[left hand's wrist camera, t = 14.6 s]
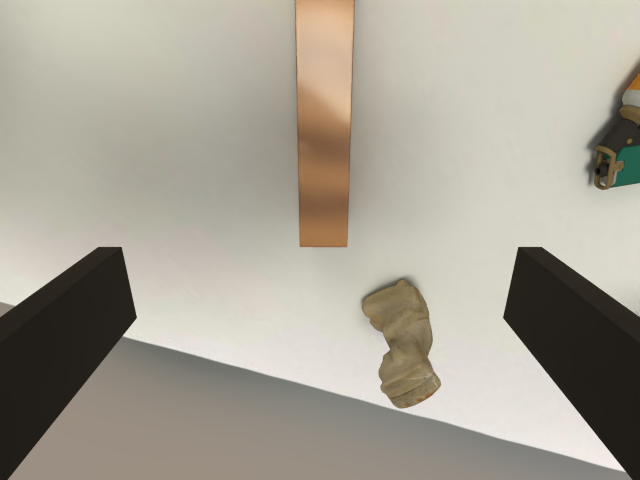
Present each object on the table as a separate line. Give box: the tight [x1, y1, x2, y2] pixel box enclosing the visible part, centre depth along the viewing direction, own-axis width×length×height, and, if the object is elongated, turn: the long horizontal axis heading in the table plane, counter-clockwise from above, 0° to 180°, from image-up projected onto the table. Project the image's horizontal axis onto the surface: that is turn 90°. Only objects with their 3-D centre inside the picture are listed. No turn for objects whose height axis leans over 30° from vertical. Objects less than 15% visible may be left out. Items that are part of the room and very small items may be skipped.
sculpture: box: [362, 280, 441, 408], centre depth 40 cm, size 6×7×15 cm
